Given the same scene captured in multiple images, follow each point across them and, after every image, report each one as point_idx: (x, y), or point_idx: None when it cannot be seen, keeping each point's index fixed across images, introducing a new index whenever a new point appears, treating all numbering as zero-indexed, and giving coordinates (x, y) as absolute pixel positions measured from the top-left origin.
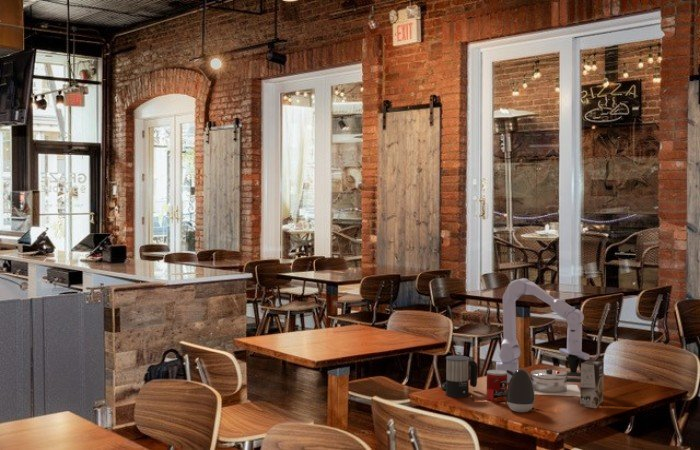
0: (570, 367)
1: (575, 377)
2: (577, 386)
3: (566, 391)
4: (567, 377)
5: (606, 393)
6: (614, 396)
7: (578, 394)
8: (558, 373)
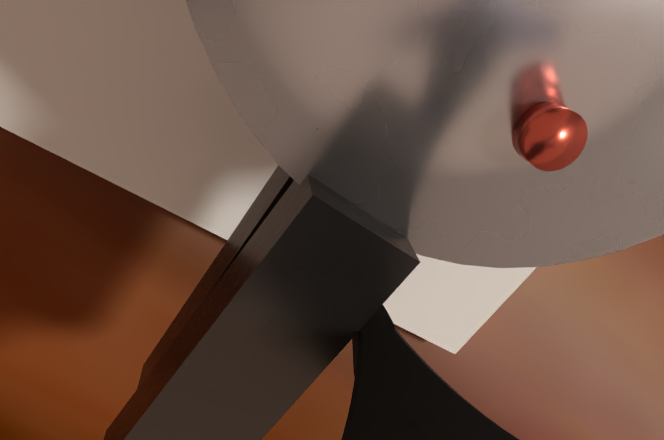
0: (407, 374)
1: None
2: (405, 327)
3: None
4: None
5: None
6: (17, 435)
7: (45, 100)
8: (487, 93)
